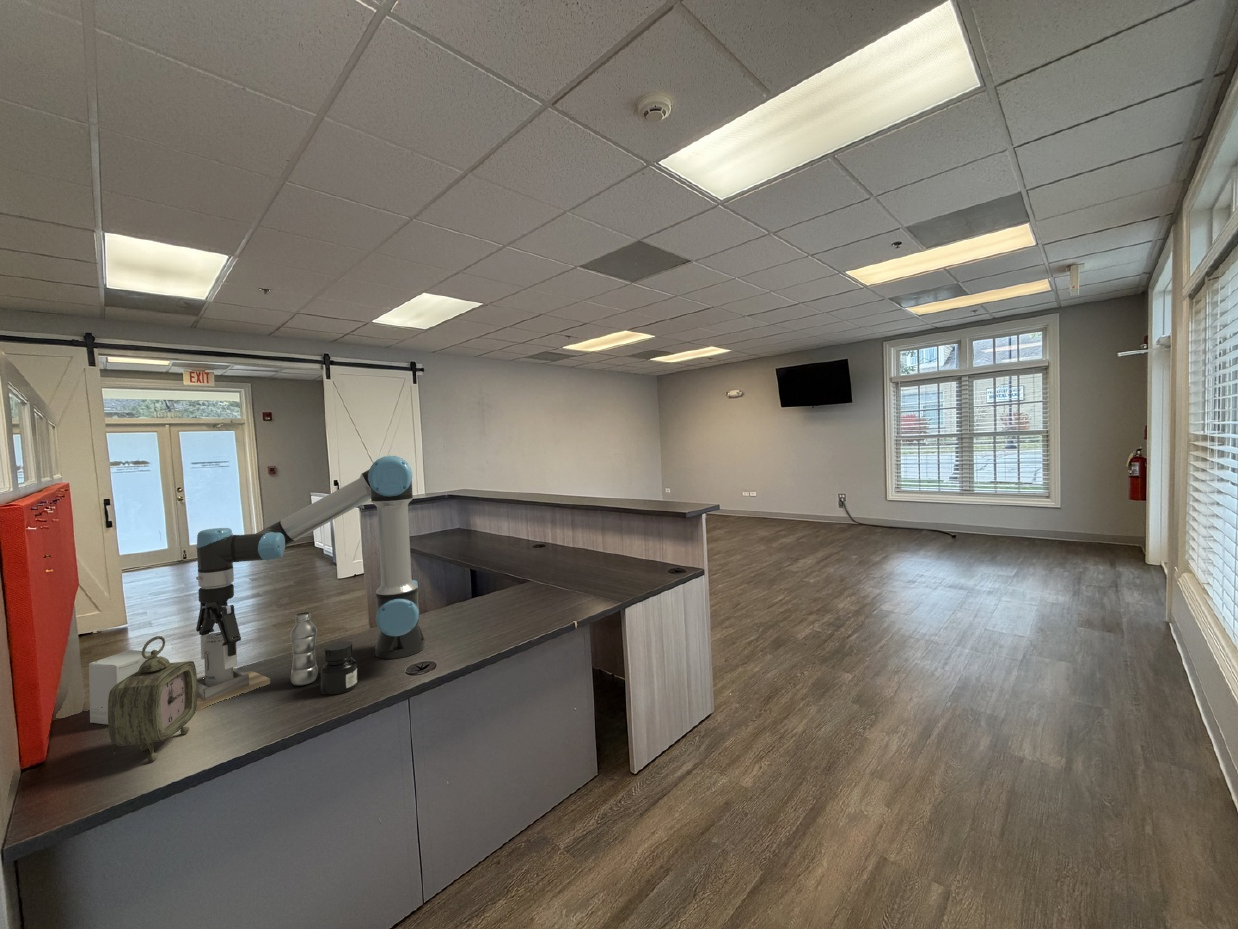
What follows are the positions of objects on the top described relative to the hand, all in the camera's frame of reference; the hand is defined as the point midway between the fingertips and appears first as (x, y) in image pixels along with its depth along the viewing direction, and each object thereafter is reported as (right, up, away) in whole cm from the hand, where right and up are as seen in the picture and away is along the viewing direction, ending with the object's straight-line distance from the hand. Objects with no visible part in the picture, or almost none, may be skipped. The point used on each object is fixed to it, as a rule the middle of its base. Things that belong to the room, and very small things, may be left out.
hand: (218, 662), depth 137 cm
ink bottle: (+32, -9, +3) cm, 33 cm away
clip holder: (0, -9, 0) cm, 9 cm away
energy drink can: (0, -8, 0) cm, 8 cm away
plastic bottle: (+20, -9, +6) cm, 22 cm away
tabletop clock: (+6, -10, -25) cm, 28 cm away
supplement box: (-15, -10, -11) cm, 21 cm away
